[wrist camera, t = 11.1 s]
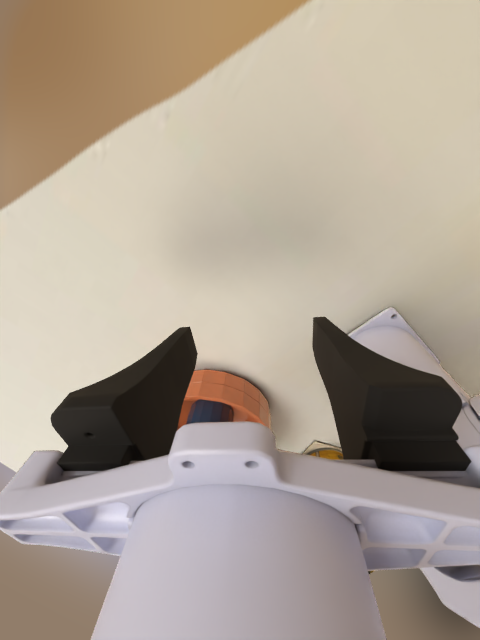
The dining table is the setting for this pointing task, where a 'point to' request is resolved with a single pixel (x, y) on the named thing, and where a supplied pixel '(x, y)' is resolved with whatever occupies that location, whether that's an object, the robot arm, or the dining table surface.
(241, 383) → the clay bowl
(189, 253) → the dining table surface
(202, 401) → the cup
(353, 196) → the dining table surface
